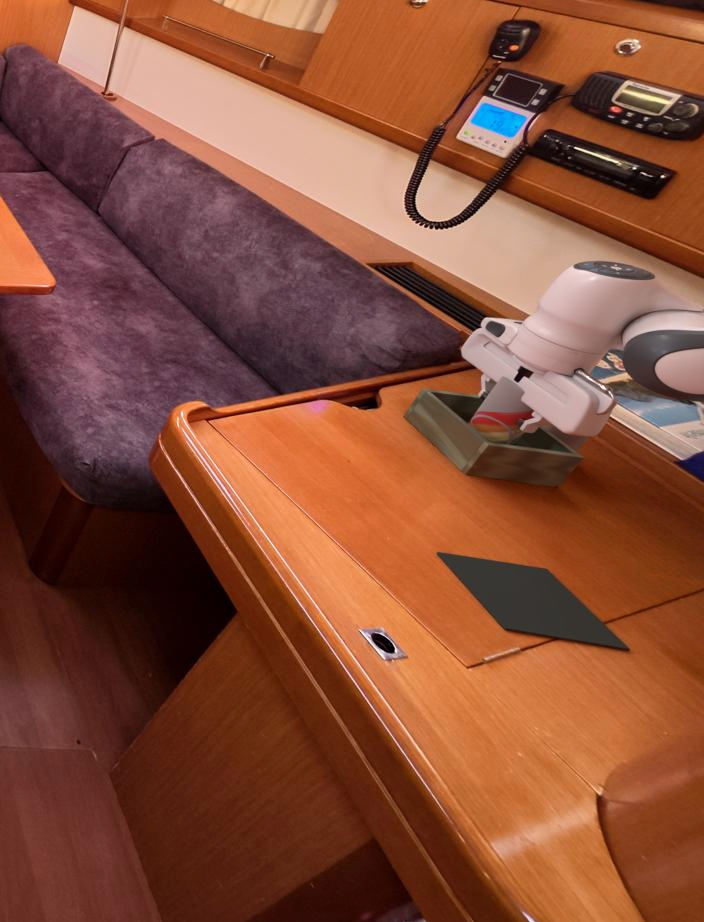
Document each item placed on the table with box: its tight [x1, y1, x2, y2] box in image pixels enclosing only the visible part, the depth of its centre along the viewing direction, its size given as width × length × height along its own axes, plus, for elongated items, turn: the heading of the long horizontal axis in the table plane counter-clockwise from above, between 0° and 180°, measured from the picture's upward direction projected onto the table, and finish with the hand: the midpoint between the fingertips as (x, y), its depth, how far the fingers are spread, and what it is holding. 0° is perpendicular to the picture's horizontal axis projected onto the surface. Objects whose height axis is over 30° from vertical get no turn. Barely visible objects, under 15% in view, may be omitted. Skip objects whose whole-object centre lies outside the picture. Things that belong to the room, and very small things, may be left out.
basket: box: [403, 388, 585, 488], centre depth 109 cm, size 14×14×7 cm
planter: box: [543, 424, 591, 453], centre depth 108 cm, size 4×4×10 cm
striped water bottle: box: [468, 366, 535, 445], centre depth 105 cm, size 6×6×20 cm
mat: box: [436, 551, 631, 652], centre depth 86 cm, size 14×11×1 cm
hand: (503, 414), depth 106 cm, fingers closed on striped water bottle, 5 cm apart
